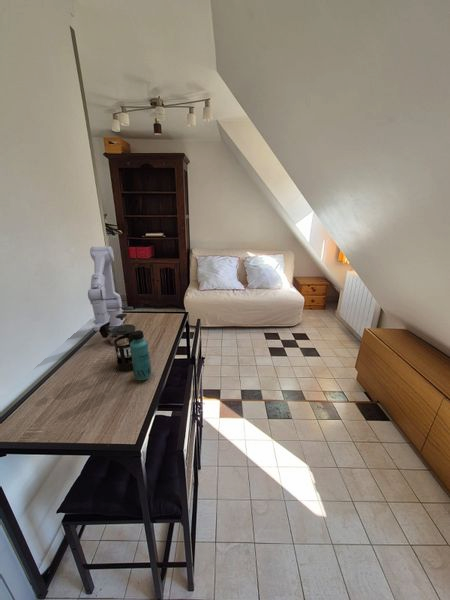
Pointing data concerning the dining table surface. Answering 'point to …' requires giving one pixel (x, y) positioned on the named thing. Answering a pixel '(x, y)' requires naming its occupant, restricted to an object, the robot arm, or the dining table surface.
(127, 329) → the french press
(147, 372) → the beverage bottle
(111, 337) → the pot
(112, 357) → the dining table surface
